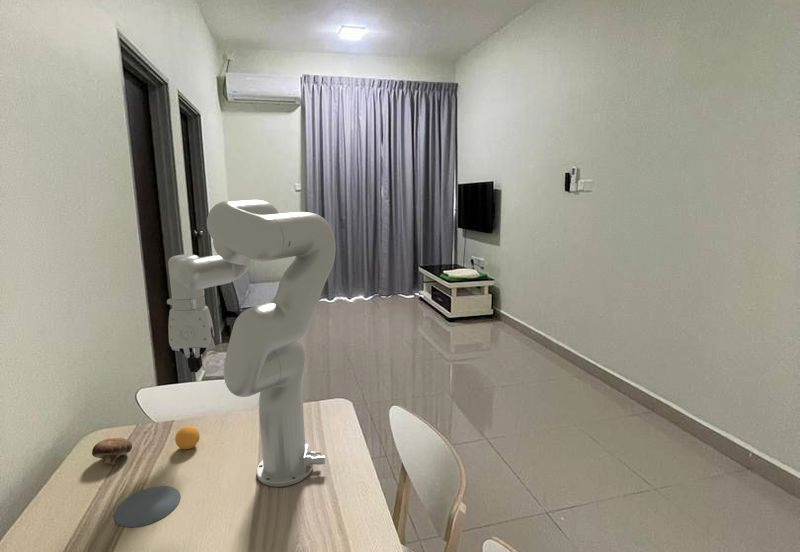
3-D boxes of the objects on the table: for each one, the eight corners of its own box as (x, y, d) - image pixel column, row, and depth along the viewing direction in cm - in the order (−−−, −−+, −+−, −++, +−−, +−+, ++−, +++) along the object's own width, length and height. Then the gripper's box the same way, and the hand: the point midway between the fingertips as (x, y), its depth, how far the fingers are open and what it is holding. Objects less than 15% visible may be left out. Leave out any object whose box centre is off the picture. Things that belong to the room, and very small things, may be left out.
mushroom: (108, 463, 103) (108, 434, 105) (82, 471, 105) (84, 443, 107) (139, 461, 110) (139, 434, 112) (114, 468, 112) (115, 442, 114)
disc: (189, 485, 100) (189, 484, 100) (165, 525, 88) (165, 524, 88) (133, 487, 99) (133, 487, 99) (101, 528, 87) (100, 527, 87)
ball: (203, 441, 117) (201, 421, 116) (195, 453, 112) (193, 433, 111) (181, 441, 117) (179, 422, 116) (172, 454, 111) (170, 433, 110)
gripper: (152, 307, 112) (160, 377, 116) (213, 306, 113) (220, 375, 117) (165, 299, 120) (172, 365, 123) (223, 298, 121) (229, 364, 124)
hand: (195, 370), depth 120 cm, fingers closed
